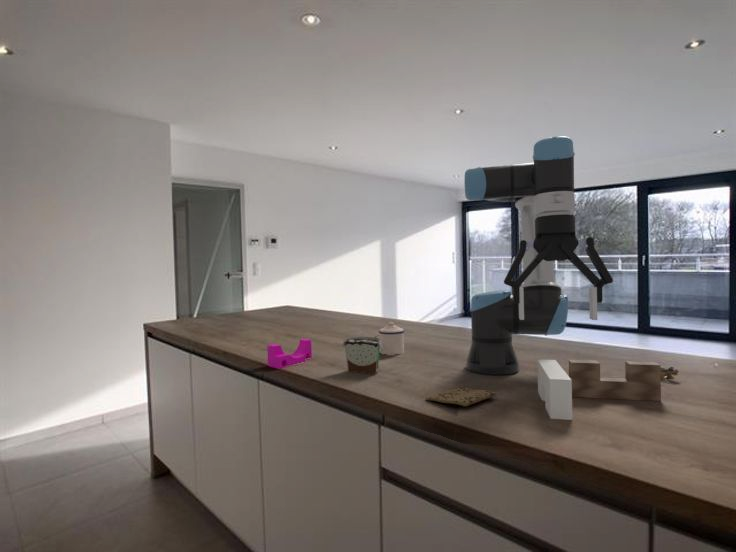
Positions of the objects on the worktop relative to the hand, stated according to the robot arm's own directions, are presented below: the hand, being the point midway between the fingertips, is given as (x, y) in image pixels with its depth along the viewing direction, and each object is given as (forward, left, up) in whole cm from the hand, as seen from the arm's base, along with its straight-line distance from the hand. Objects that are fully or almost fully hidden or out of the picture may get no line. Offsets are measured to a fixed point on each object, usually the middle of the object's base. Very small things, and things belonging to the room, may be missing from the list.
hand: (556, 319), depth 85 cm
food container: (-49, +29, -20) cm, 60 cm away
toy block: (-75, +34, -20) cm, 85 cm away
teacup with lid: (-47, +54, -20) cm, 74 cm away
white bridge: (0, +6, -20) cm, 21 cm away
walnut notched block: (+14, +14, -20) cm, 28 cm away
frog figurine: (+29, +34, -20) cm, 49 cm away
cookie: (-20, +7, -20) cm, 29 cm away
